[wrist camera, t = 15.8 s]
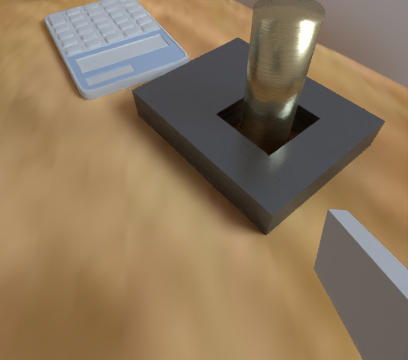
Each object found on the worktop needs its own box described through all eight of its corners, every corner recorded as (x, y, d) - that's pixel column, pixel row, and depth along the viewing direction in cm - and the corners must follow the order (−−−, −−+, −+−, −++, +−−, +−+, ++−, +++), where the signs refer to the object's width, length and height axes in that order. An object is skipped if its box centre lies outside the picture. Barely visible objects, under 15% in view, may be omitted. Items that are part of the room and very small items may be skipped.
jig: (138, 114, 31) (131, 90, 29) (236, 61, 36) (238, 37, 34) (266, 235, 23) (272, 215, 21) (370, 145, 28) (385, 121, 26)
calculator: (133, 3, 47) (130, -10, 45) (193, 69, 37) (192, 54, 35) (46, 27, 43) (40, 13, 42) (86, 107, 33) (80, 92, 31)
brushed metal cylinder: (230, 139, 29) (239, 8, 19) (262, 118, 31) (285, -13, 21) (263, 166, 27) (292, 35, 17) (296, 142, 29) (339, 10, 19)
